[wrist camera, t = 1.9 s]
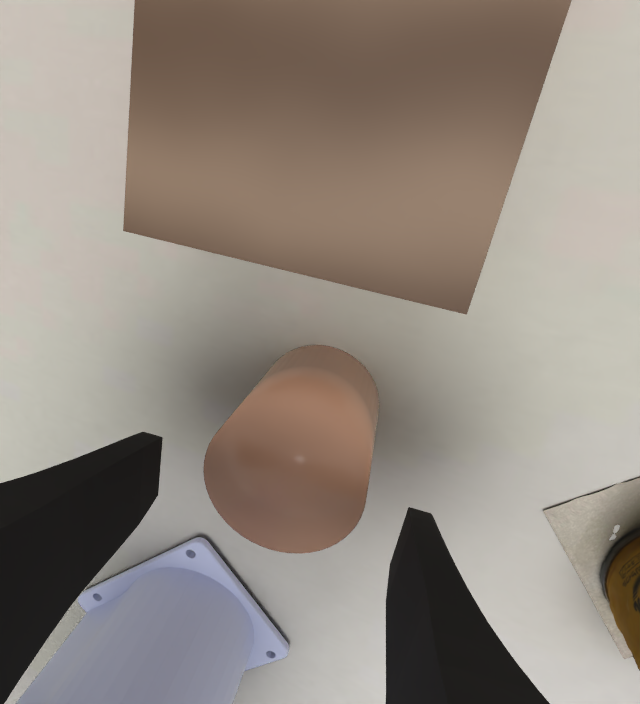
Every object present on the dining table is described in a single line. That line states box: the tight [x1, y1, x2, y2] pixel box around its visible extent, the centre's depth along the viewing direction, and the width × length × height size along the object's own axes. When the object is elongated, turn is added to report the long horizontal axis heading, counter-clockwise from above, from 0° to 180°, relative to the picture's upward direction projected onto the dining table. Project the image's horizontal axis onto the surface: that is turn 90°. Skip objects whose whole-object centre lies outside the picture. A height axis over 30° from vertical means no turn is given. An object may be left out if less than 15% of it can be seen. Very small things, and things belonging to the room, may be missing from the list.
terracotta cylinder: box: [204, 345, 379, 553], centre depth 16 cm, size 5×5×6 cm
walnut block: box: [123, 0, 571, 314], centre depth 14 cm, size 11×11×4 cm
